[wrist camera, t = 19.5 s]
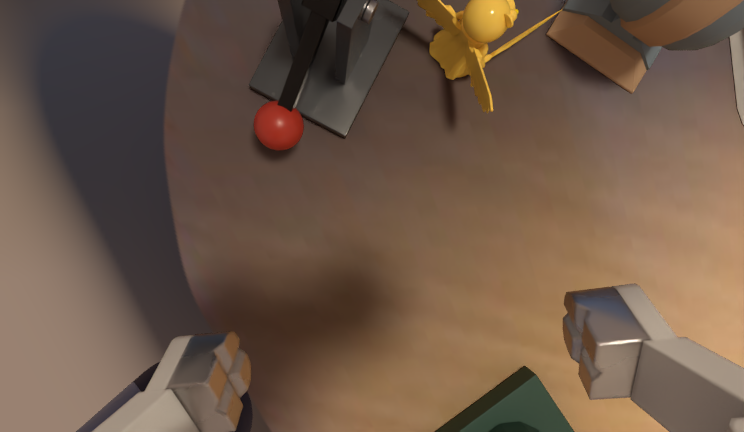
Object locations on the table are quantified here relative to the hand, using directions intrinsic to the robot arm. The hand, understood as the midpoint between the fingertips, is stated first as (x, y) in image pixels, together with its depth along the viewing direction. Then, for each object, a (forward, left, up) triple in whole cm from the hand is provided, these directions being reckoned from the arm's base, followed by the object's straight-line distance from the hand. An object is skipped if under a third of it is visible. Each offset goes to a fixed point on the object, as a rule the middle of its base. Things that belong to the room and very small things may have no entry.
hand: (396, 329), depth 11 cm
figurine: (+20, +8, -28) cm, 35 cm away
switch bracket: (+8, +14, -27) cm, 32 cm away
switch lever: (+5, +13, -21) cm, 25 cm away
